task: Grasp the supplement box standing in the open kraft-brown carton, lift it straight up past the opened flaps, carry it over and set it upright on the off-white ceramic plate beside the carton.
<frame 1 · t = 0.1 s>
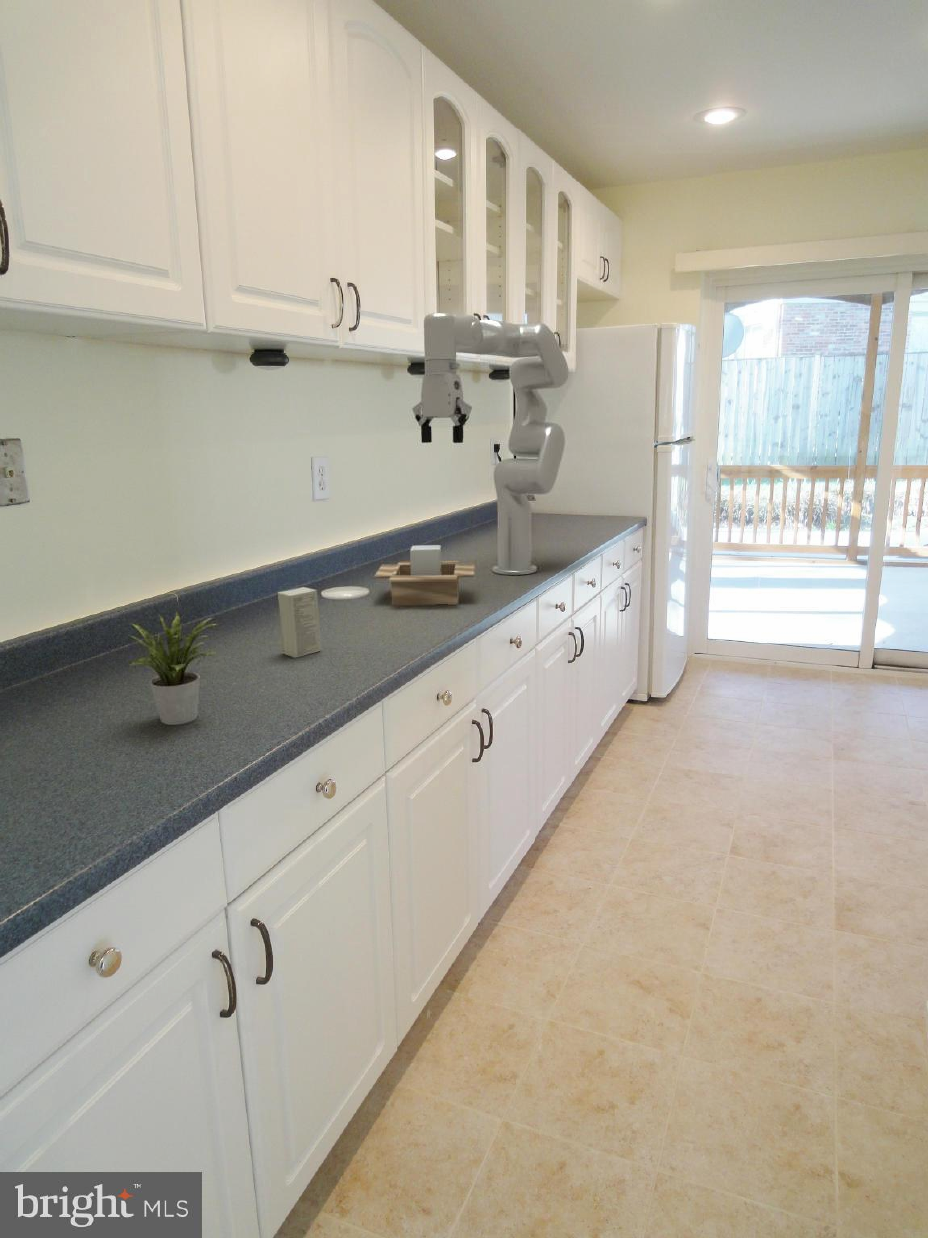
hand: (442, 442, 196), 37 cm above the worktop, tool pointing down, fingers open, 9 cm apart
skincare box: (301, 653, 155), on the worktop
carton: (426, 597, 200), on the worktop
plate: (345, 594, 205), on the worktop
supplement box: (427, 598, 200), resting in carton
house plant: (185, 721, 121), on the worktop
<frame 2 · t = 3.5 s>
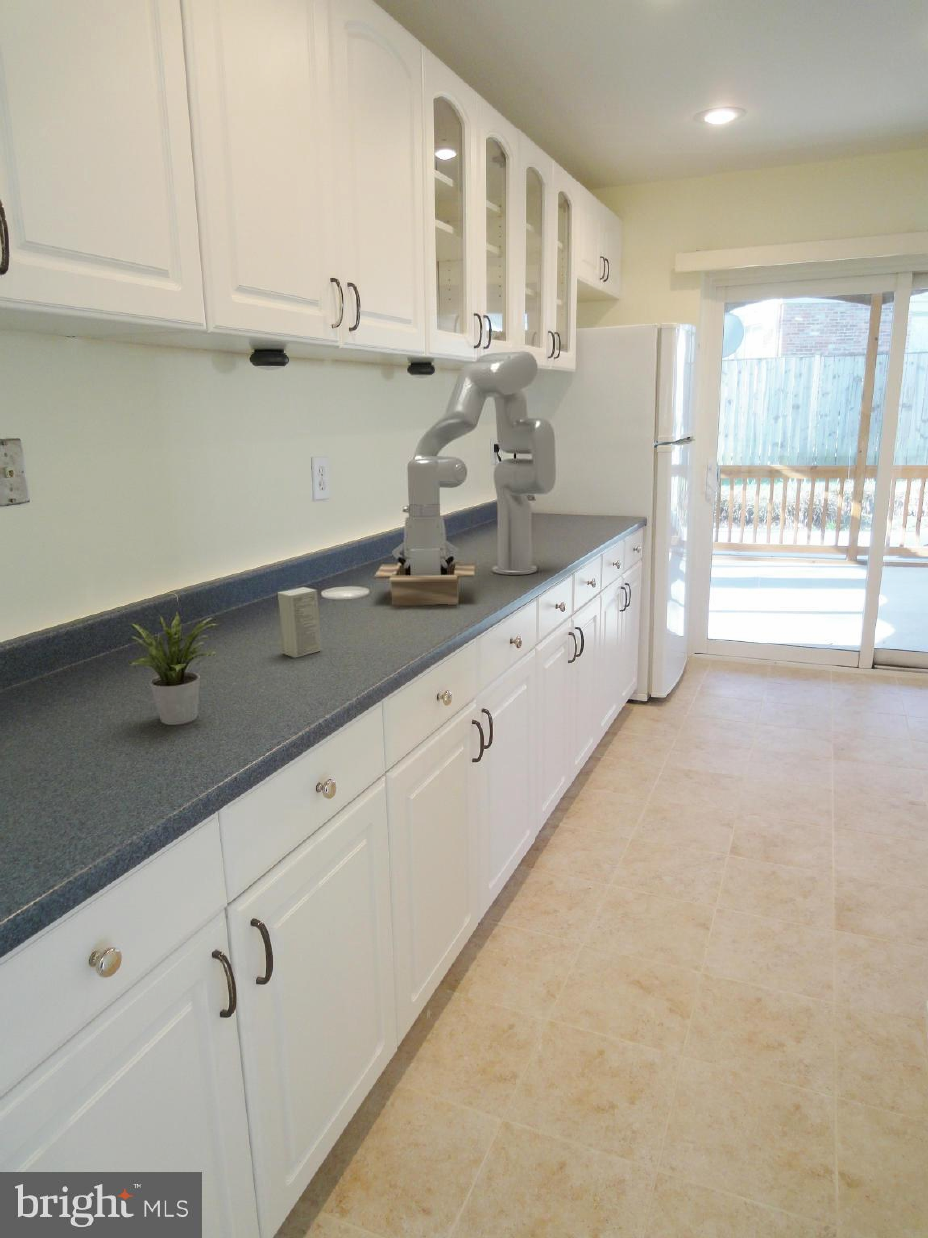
hand: (426, 582, 199), 4 cm above the worktop, tool pointing down, fingers closed on supplement box, 7 cm apart
supplement box: (427, 598, 200), resting in carton, touching gripper
everything else where it was.
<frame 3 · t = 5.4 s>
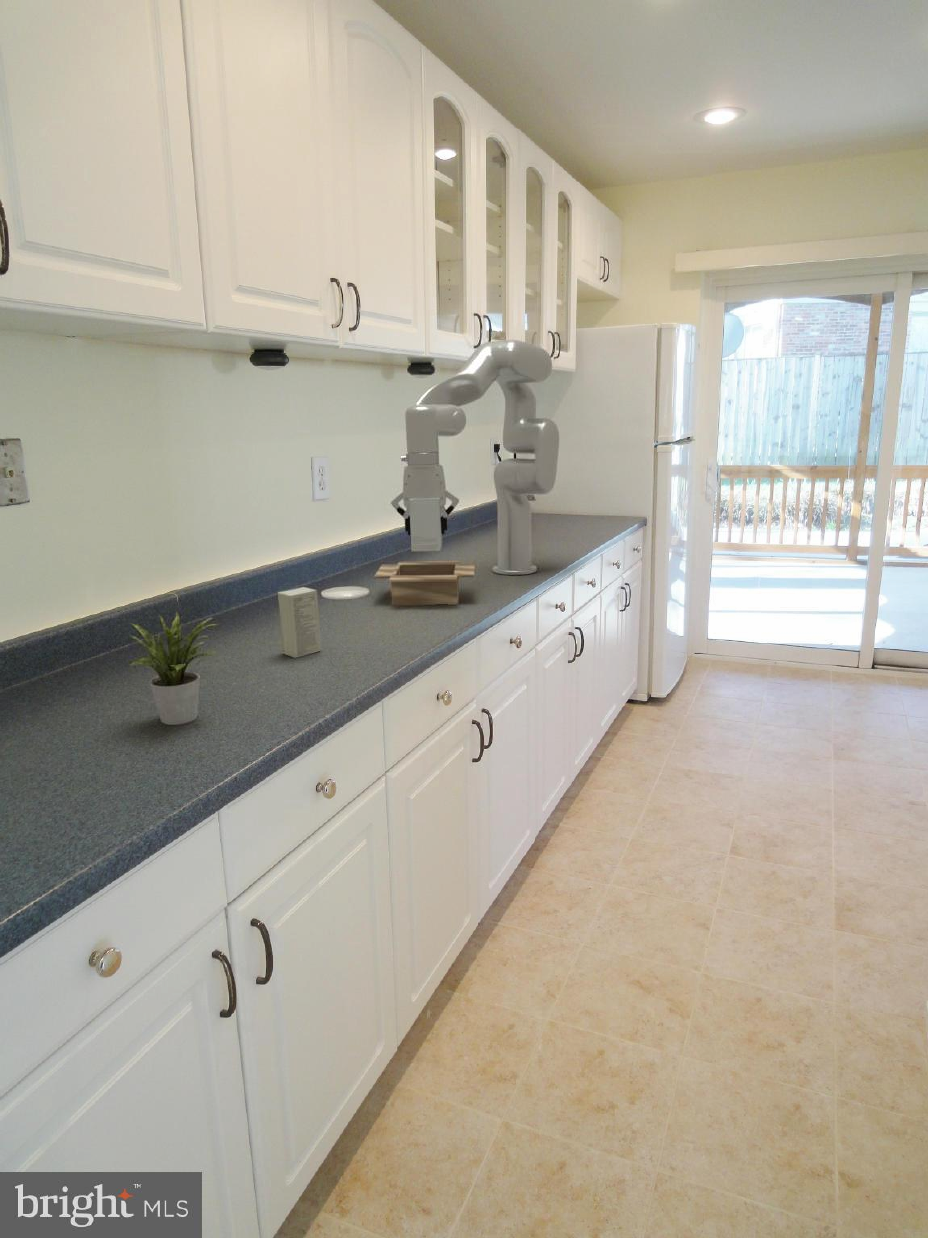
hand: (426, 533, 197), 16 cm above the worktop, tool pointing down, fingers closed on supplement box, 7 cm apart
supplement box: (427, 549, 198), point 12 cm above the worktop, touching gripper
everything else where it was.
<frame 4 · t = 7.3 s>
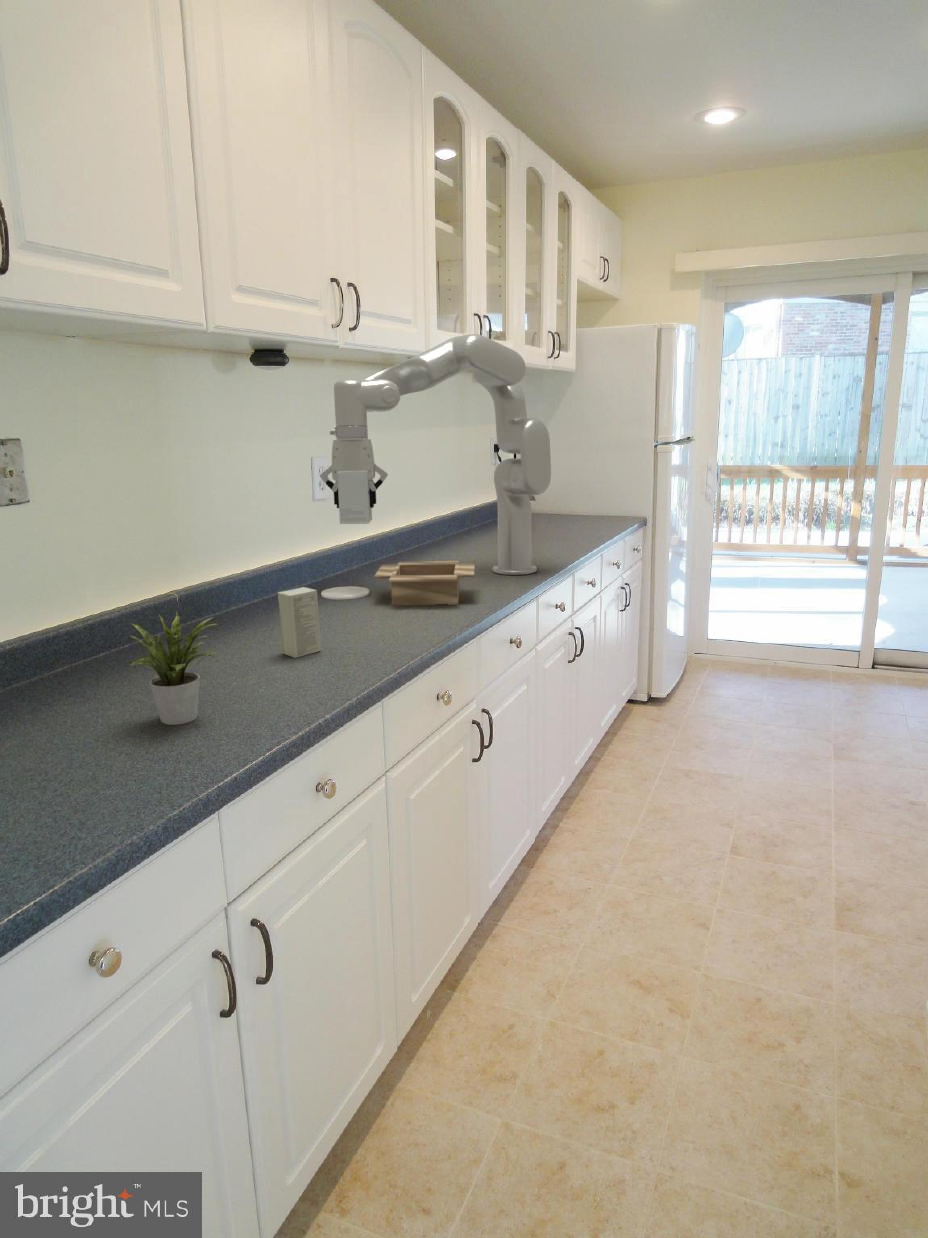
hand: (355, 506, 199), 22 cm above the worktop, tool pointing down, fingers closed on supplement box, 7 cm apart
supplement box: (356, 522, 200), point 18 cm above the worktop, touching gripper
everything else where it was.
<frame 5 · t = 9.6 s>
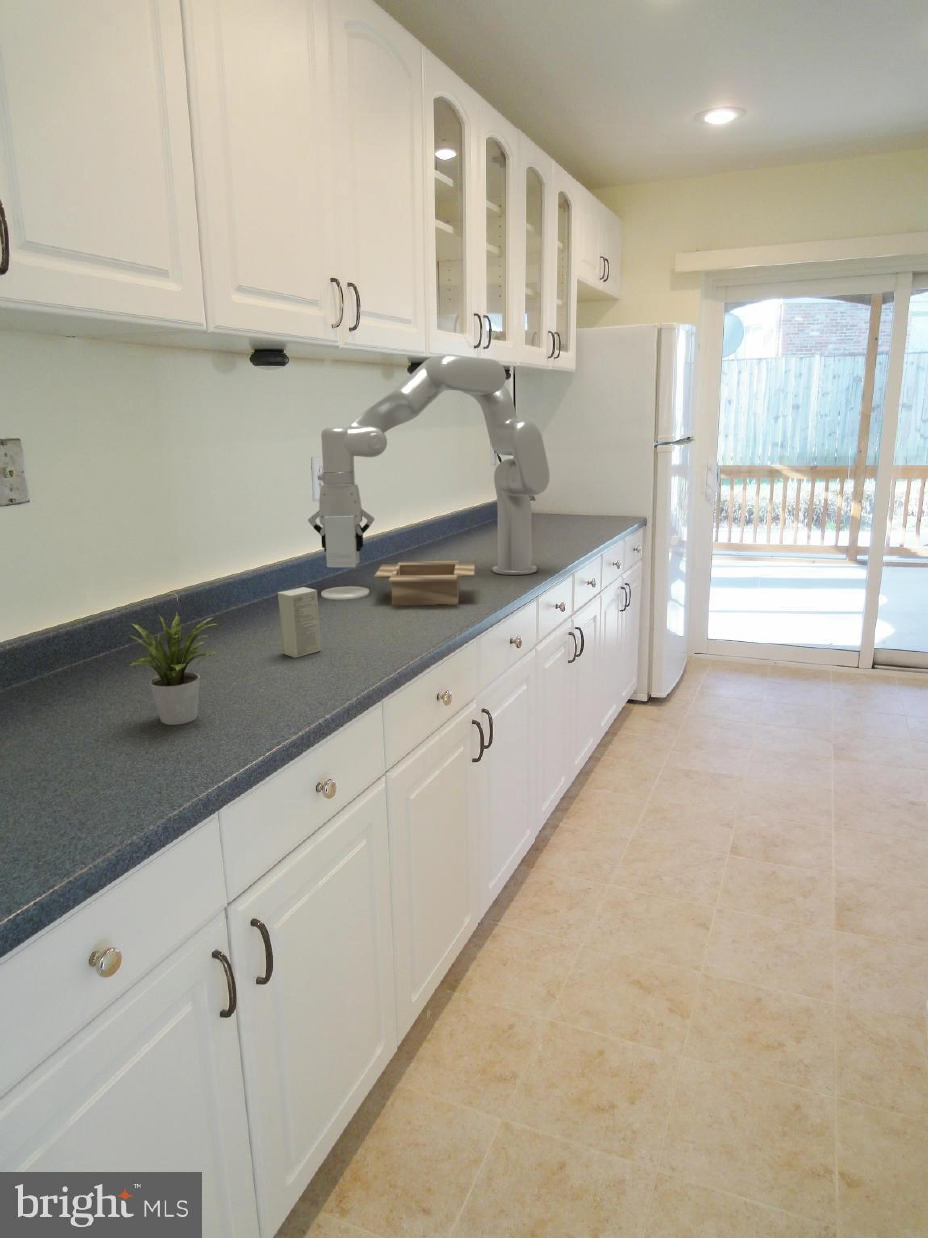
hand: (342, 550, 203), 11 cm above the worktop, tool pointing down, fingers closed on supplement box, 7 cm apart
supplement box: (343, 565, 203), point 7 cm above the worktop, touching gripper
everything else where it was.
when the fingers open (6 cm above the worktop, at t = 11.2 s): supplement box drops 2 cm, resting on plate.
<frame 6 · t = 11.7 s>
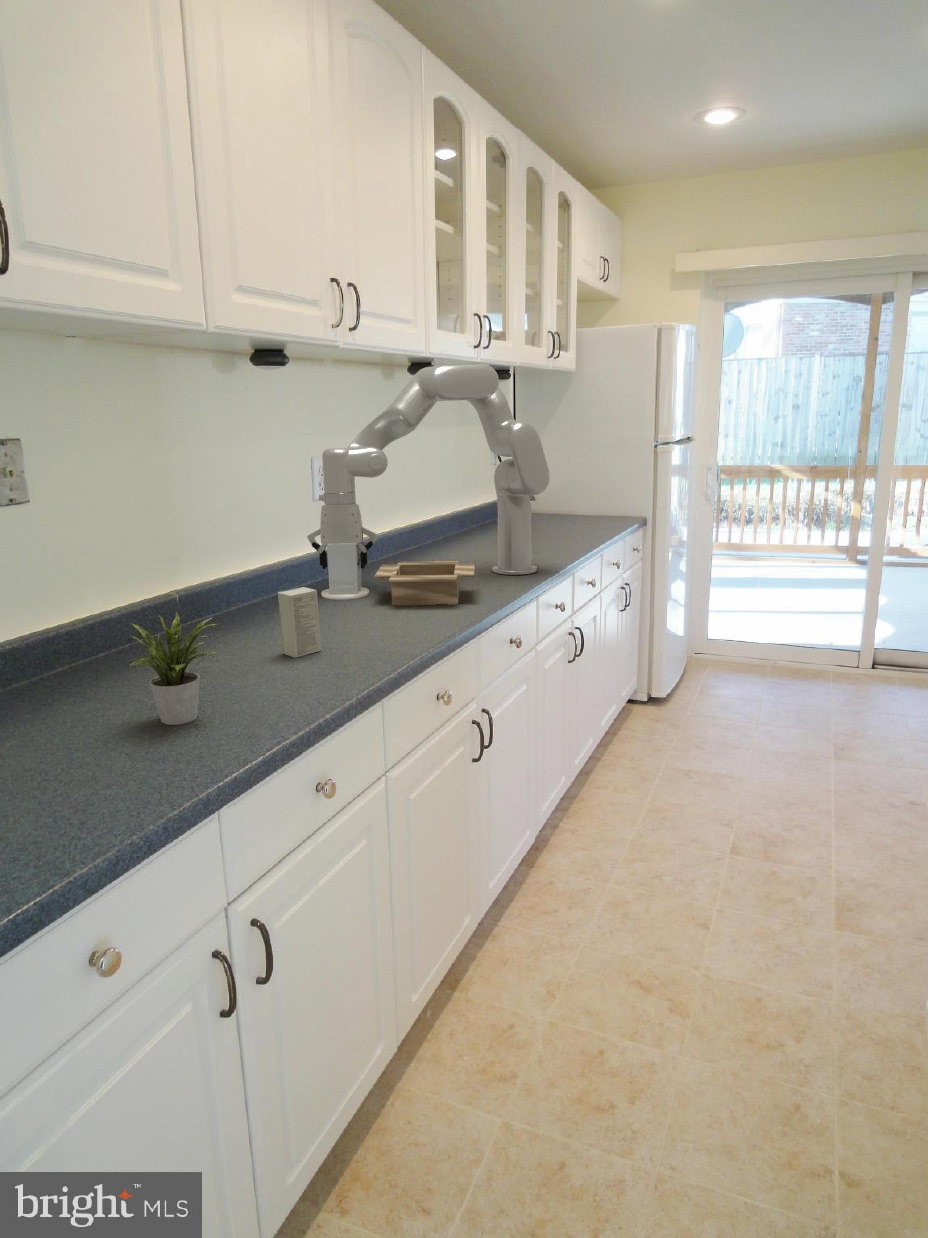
hand: (344, 567, 204), 7 cm above the worktop, tool pointing down, fingers open, 9 cm apart
supplement box: (346, 592, 205), point 1 cm above the worktop, touching plate
everything else where it was.
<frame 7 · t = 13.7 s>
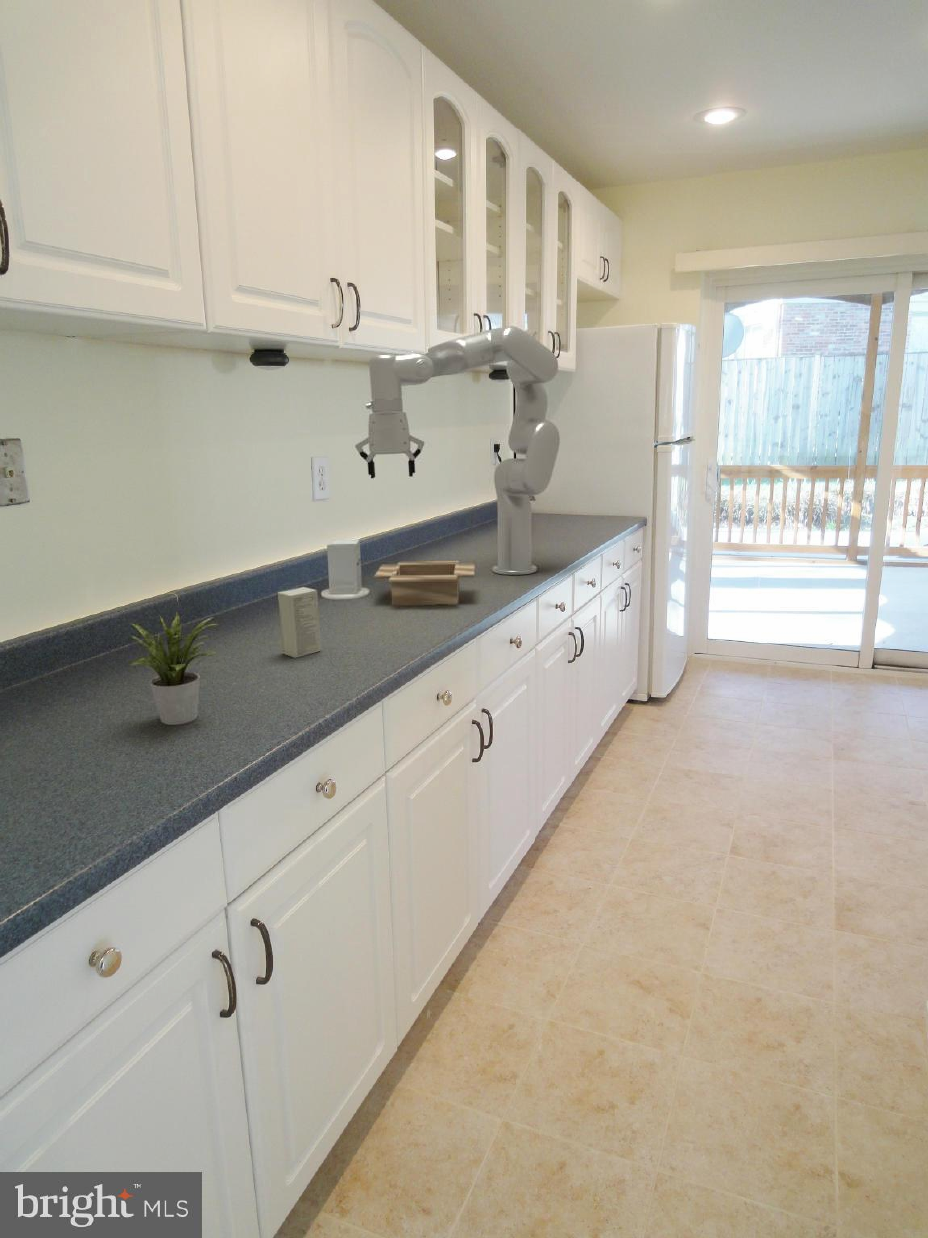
hand: (392, 476, 205), 29 cm above the worktop, tool pointing down, fingers open, 9 cm apart
nothing on the worktop moved.
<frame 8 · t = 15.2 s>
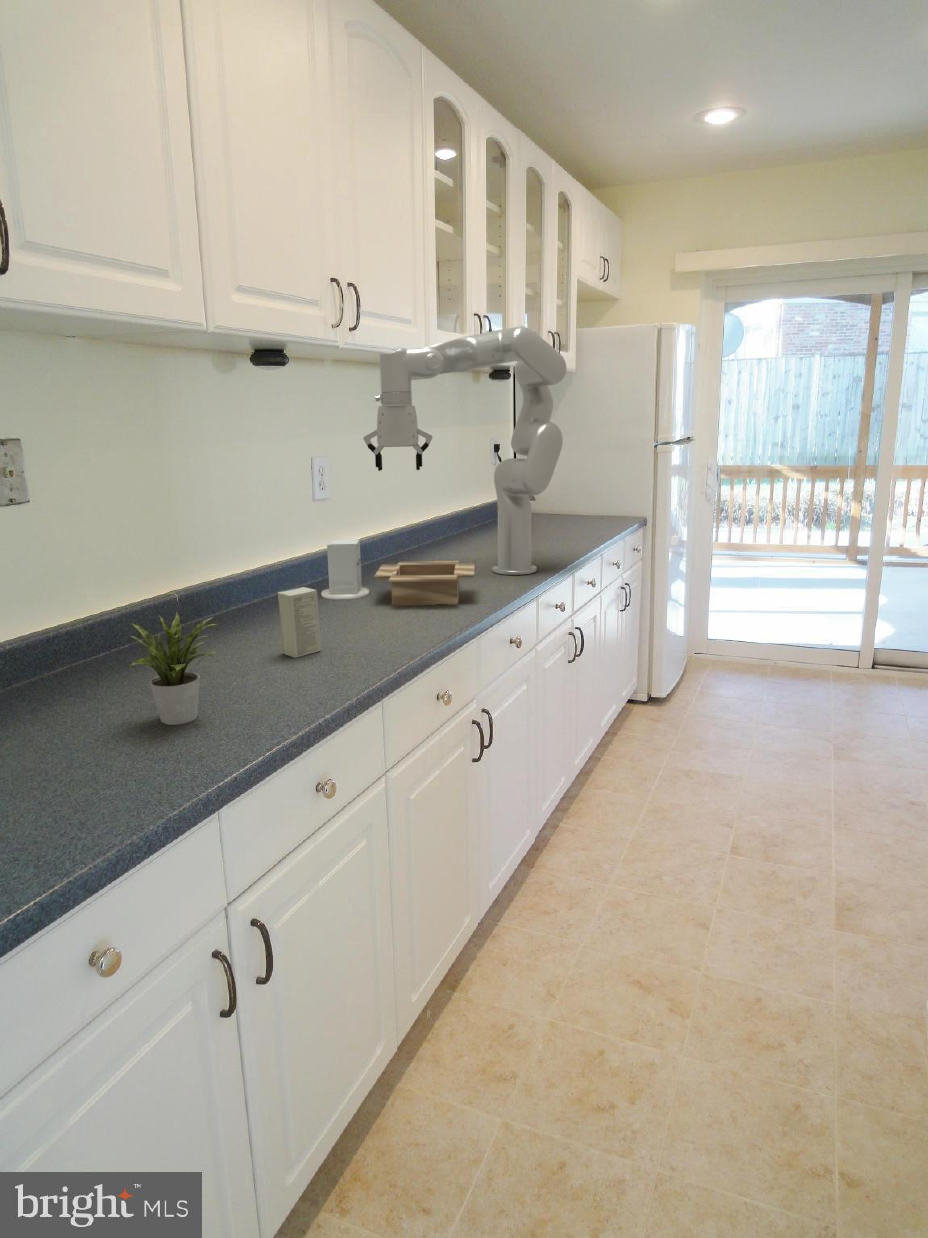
hand: (399, 470, 205), 30 cm above the worktop, tool pointing down, fingers open, 9 cm apart
nothing on the worktop moved.
at the end: supplement box 0.2 cm off-centre on the plate, point 0.6 cm above the plate's base; supplement box tilted 0°; the gripper is holding nothing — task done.
